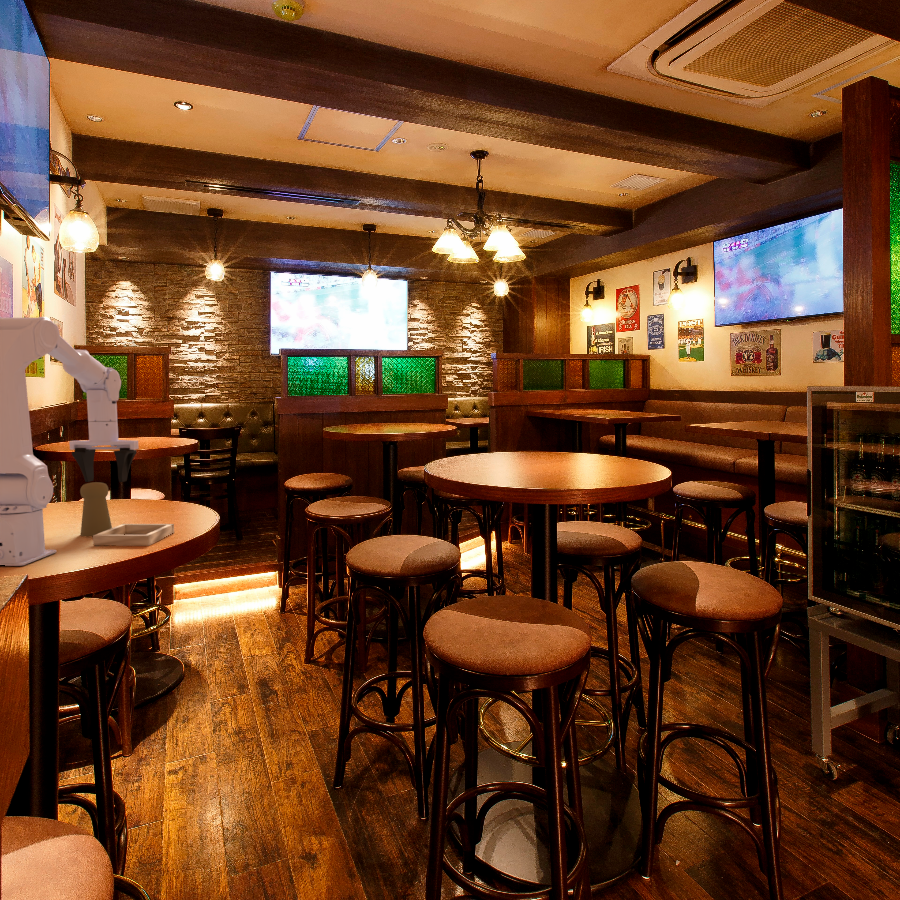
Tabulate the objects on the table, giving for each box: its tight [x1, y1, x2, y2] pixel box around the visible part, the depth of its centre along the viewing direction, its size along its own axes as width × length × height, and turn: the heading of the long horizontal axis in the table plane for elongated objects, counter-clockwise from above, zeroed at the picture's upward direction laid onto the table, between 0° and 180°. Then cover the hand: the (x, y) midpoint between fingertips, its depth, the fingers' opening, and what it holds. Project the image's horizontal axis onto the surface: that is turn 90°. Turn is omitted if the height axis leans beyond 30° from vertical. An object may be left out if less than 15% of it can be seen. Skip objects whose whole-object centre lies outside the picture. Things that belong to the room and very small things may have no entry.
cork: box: [79, 481, 113, 537], centre depth 132 cm, size 6×6×11 cm
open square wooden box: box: [92, 523, 175, 547], centre depth 127 cm, size 11×11×2 cm
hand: (106, 481), depth 139 cm, fingers open, 7 cm apart
